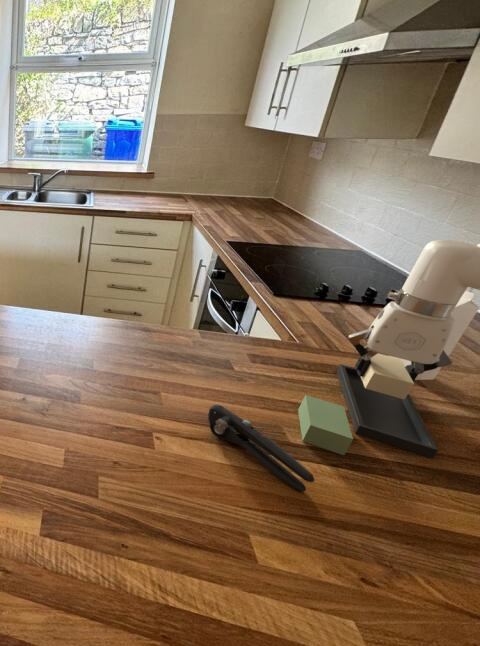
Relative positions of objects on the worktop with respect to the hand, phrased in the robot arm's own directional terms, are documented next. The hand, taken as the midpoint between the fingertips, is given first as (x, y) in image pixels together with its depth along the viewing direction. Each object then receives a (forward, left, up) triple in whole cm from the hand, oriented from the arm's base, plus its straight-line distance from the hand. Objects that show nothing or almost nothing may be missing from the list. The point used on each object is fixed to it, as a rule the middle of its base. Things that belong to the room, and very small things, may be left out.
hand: (380, 378), depth 85 cm
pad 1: (+11, +20, -4) cm, 23 cm away
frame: (0, +5, -4) cm, 7 cm away
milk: (-9, -16, -5) cm, 19 cm away
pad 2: (0, 0, -1) cm, 1 cm away
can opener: (+22, +34, -5) cm, 41 cm away
